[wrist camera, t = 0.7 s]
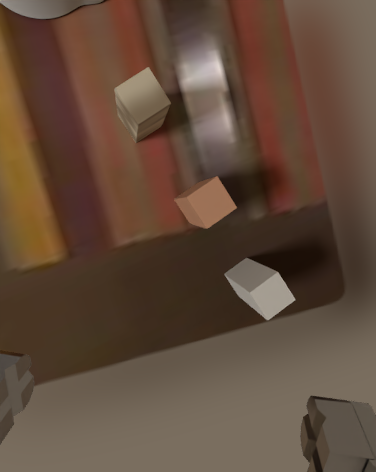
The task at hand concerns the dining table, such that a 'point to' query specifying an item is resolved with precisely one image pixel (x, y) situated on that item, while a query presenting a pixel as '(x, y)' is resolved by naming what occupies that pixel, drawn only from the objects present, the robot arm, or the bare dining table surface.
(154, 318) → the dining table surface
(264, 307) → the white block
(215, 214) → the terracotta block
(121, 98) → the birch block
